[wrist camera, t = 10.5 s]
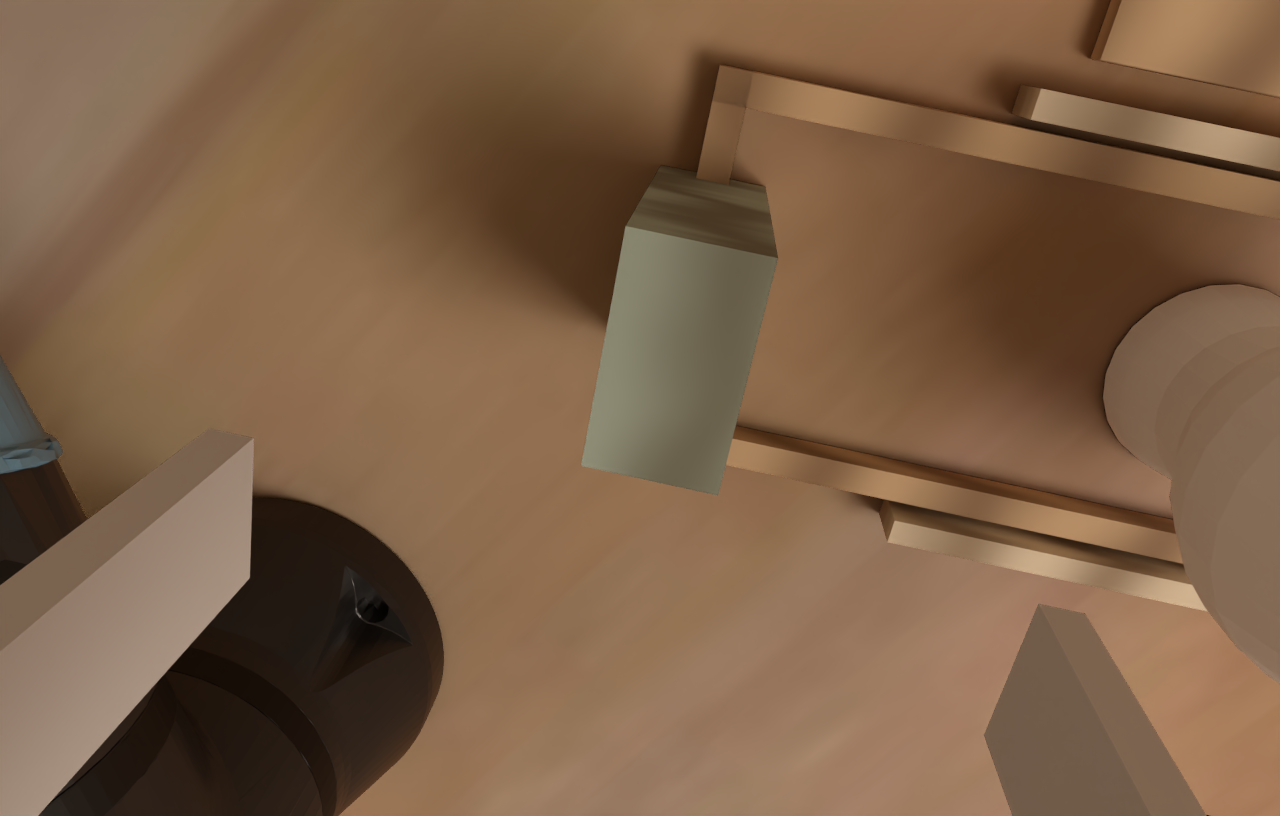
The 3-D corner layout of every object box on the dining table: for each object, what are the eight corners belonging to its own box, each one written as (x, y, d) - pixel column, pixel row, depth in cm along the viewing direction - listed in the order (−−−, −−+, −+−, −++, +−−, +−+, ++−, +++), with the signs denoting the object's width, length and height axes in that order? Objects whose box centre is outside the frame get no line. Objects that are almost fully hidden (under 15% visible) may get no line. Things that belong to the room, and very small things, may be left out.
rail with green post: (610, 425, 39) (559, 579, 28) (682, 56, 34) (654, 67, 23) (1256, 565, 39) (1462, 777, 28) (1439, 213, 33) (1789, 304, 22)
